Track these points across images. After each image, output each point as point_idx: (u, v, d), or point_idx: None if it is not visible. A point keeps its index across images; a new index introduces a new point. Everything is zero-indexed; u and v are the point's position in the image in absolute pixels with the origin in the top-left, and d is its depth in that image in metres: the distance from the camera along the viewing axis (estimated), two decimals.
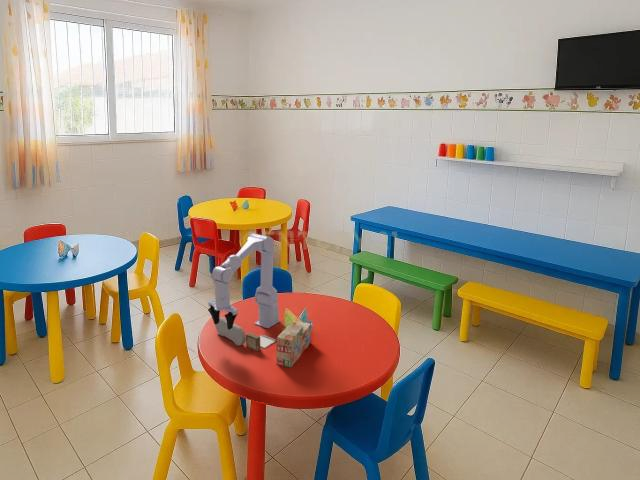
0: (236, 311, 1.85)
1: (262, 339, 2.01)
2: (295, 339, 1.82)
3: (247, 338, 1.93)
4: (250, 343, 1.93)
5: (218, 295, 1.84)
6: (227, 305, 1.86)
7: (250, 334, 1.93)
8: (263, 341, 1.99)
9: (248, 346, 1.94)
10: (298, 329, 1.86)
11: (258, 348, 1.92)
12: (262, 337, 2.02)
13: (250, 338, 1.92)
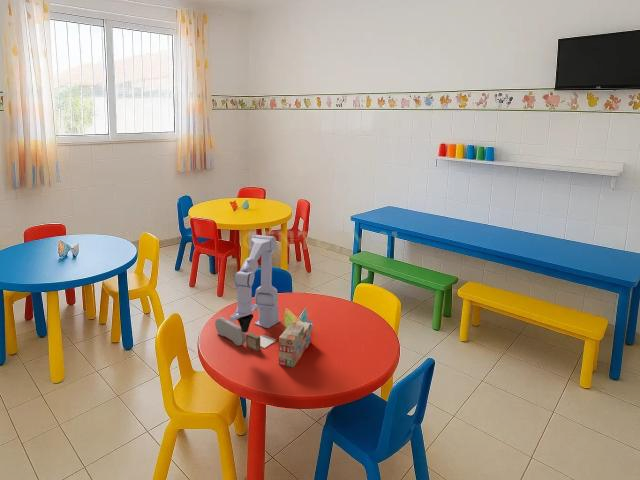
0: (232, 318, 1.79)
1: (262, 339, 2.01)
2: (297, 339, 1.82)
3: (247, 338, 1.93)
4: (250, 343, 1.93)
5: (243, 300, 1.80)
6: (239, 311, 1.82)
7: (250, 334, 1.93)
8: (263, 341, 1.99)
9: (248, 346, 1.94)
10: (299, 329, 1.86)
11: (258, 348, 1.92)
12: (262, 337, 2.02)
13: (250, 338, 1.92)
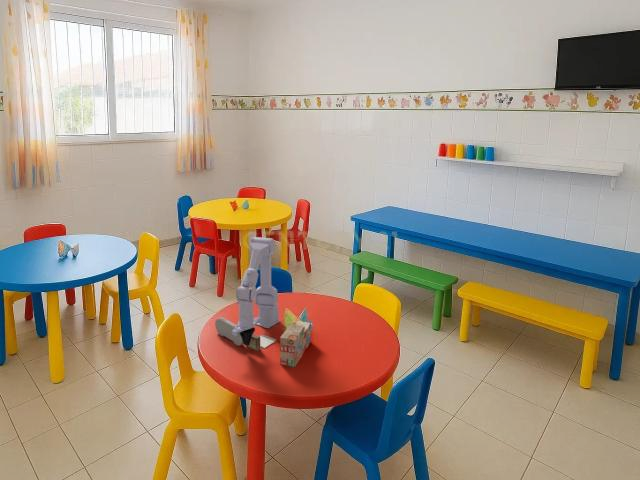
0: (234, 332, 1.81)
1: (262, 339, 2.01)
2: (298, 339, 1.82)
3: None
4: (250, 343, 1.93)
5: (245, 314, 1.83)
6: (241, 324, 1.85)
7: None
8: (263, 341, 1.99)
9: (248, 346, 1.94)
10: (300, 328, 1.86)
11: (258, 348, 1.92)
12: (262, 337, 2.02)
13: None
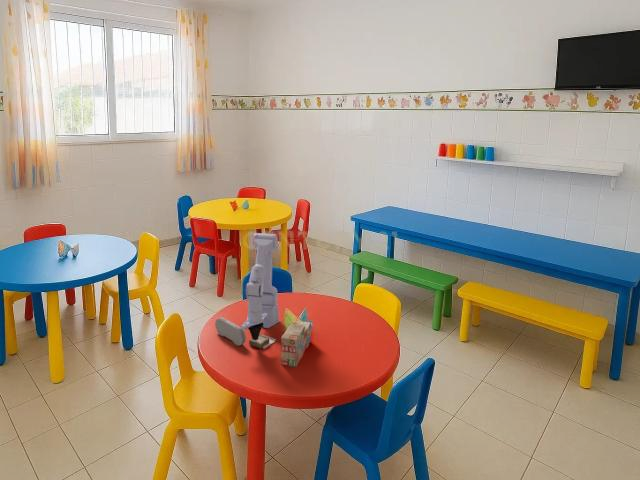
0: (243, 327, 1.86)
1: None
2: (299, 338, 1.82)
3: None
4: (258, 339, 1.96)
5: (254, 310, 1.87)
6: (250, 319, 1.89)
7: None
8: None
9: (253, 340, 1.96)
10: (301, 328, 1.86)
11: (261, 345, 1.94)
12: None
13: (261, 337, 1.98)
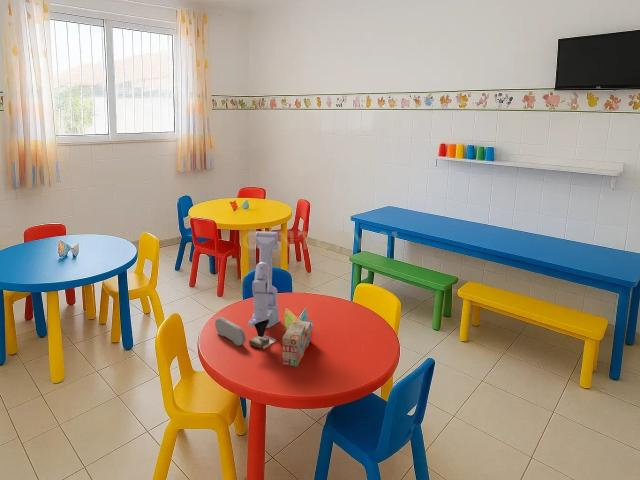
0: (250, 324, 1.88)
1: None
2: (300, 338, 1.82)
3: (257, 336, 1.99)
4: (258, 339, 1.96)
5: (261, 306, 1.90)
6: (256, 316, 1.92)
7: None
8: None
9: (253, 340, 1.96)
10: (301, 328, 1.87)
11: (261, 345, 1.94)
12: None
13: (261, 337, 1.98)
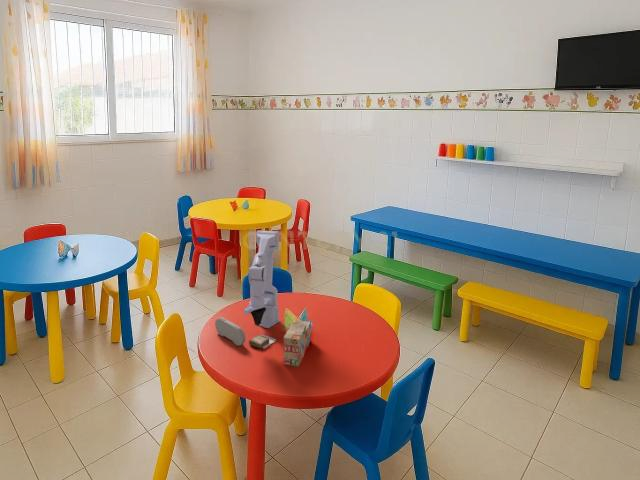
0: (246, 311, 1.85)
1: None
2: (301, 338, 1.83)
3: (257, 336, 1.99)
4: (258, 339, 1.96)
5: (257, 294, 1.87)
6: (252, 304, 1.89)
7: None
8: None
9: (253, 340, 1.96)
10: (302, 328, 1.87)
11: (261, 345, 1.94)
12: None
13: (261, 337, 1.98)
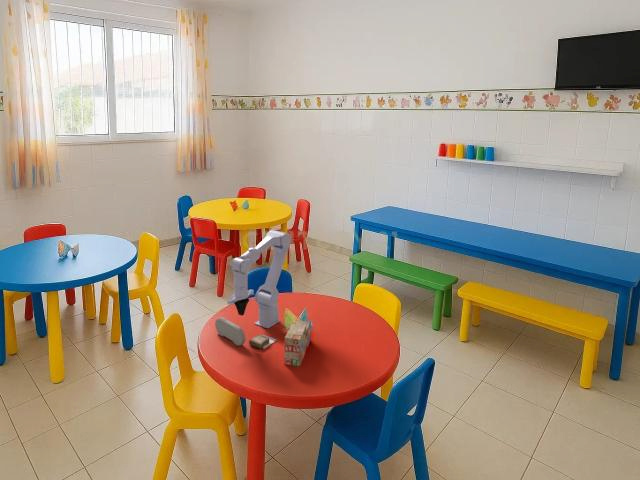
0: (229, 302, 1.92)
1: None
2: (302, 338, 1.83)
3: (257, 336, 1.99)
4: (258, 339, 1.96)
5: (236, 285, 1.94)
6: (236, 295, 1.96)
7: None
8: None
9: (253, 340, 1.96)
10: (302, 328, 1.87)
11: (261, 345, 1.94)
12: None
13: (261, 337, 1.98)
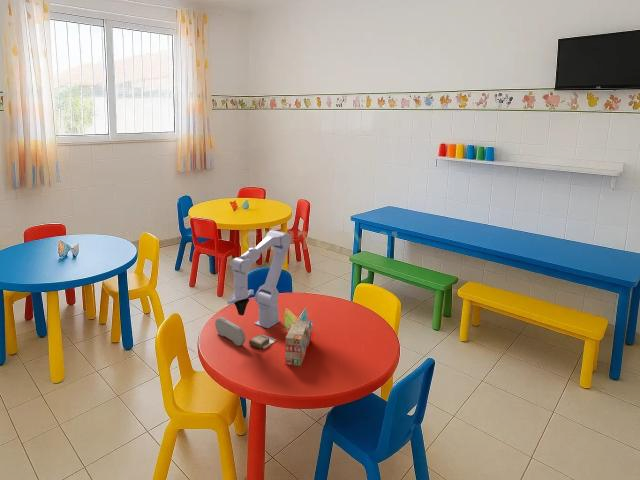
0: (229, 302, 1.92)
1: None
2: (303, 338, 1.83)
3: (257, 336, 1.99)
4: (258, 339, 1.96)
5: (236, 285, 1.94)
6: (236, 295, 1.96)
7: None
8: None
9: (253, 340, 1.96)
10: (303, 327, 1.87)
11: (261, 345, 1.94)
12: None
13: (261, 337, 1.98)
